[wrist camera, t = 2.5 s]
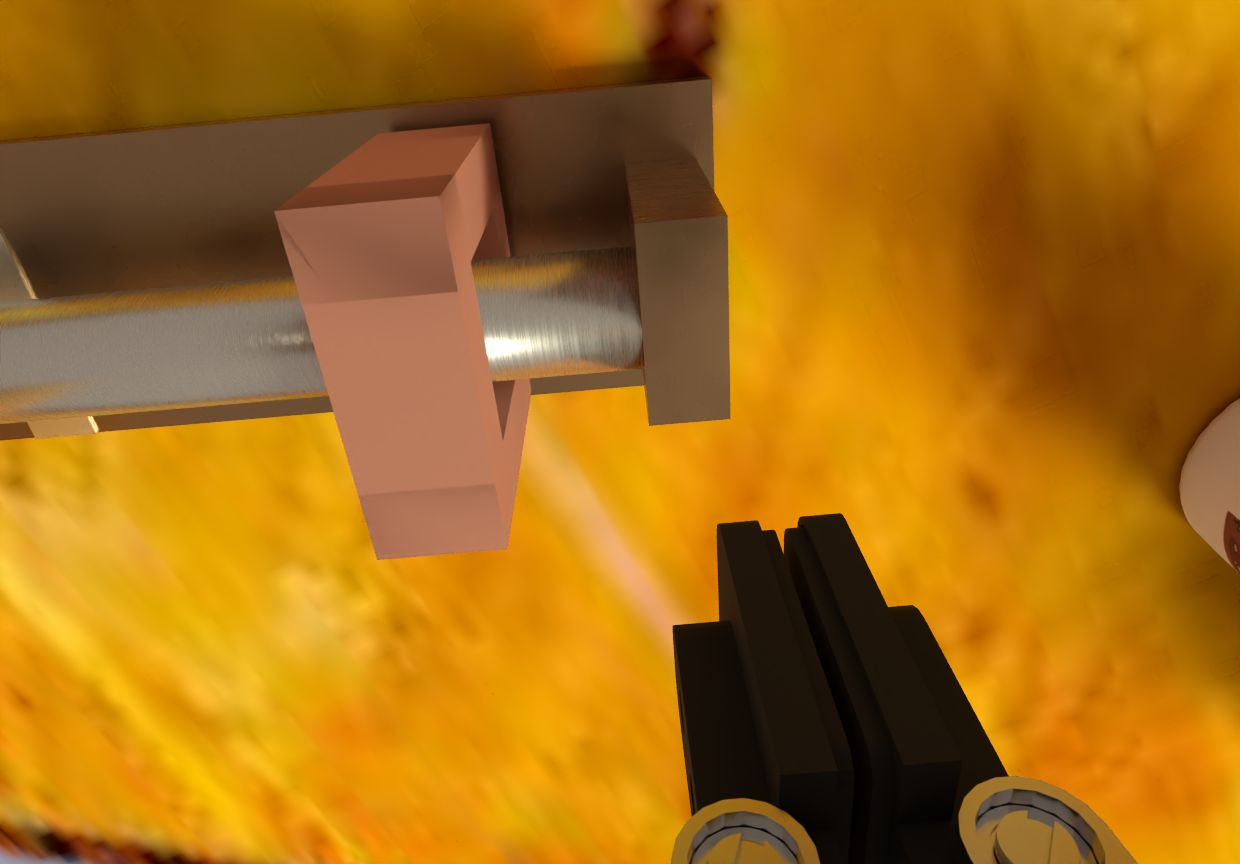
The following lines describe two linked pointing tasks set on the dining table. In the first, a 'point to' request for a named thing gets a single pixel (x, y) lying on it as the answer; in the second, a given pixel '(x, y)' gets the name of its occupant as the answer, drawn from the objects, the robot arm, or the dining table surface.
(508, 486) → the collar
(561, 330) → the pipe rig
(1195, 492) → the milk bottle
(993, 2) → the dining table surface
